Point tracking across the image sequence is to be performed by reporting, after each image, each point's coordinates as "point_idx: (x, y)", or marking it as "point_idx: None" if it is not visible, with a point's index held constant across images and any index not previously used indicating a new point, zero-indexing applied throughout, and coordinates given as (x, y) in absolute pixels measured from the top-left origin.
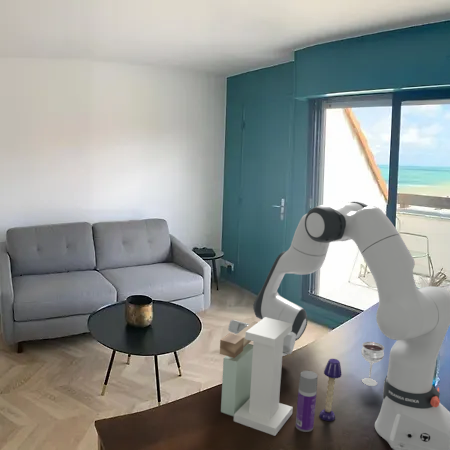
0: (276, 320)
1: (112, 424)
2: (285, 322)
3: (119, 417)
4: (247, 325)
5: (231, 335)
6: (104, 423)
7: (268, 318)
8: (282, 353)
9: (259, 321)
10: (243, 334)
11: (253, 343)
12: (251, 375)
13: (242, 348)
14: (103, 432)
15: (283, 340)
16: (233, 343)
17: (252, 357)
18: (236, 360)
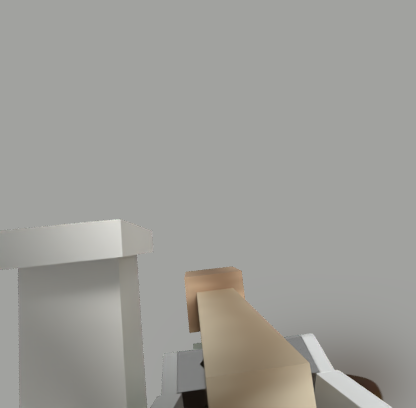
0: (54, 226)
1: (362, 386)
2: (3, 231)
3: (380, 397)
4: (289, 336)
5: (224, 271)
6: (371, 381)
7: (99, 221)
8: (20, 364)
9: (133, 224)
10: (215, 299)
11: (137, 279)
12: (145, 397)
13: (188, 319)
14: (346, 375)
15: (19, 300)
16: (191, 271)
17: (141, 329)
18: (198, 346)
